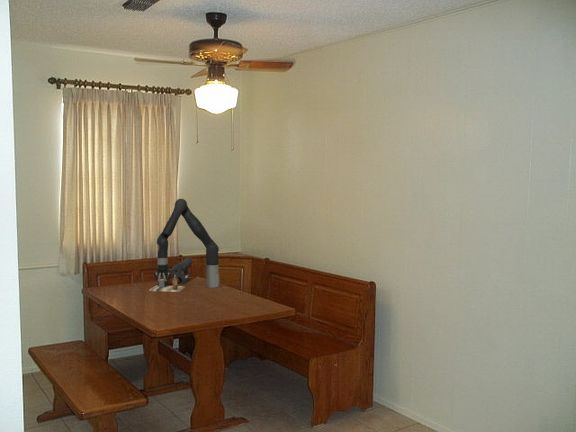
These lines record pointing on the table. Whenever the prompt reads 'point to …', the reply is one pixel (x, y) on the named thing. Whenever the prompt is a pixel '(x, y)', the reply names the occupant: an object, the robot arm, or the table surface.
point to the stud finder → (162, 283)
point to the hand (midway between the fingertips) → (162, 285)
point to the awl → (174, 283)
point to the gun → (181, 270)
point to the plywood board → (167, 288)
